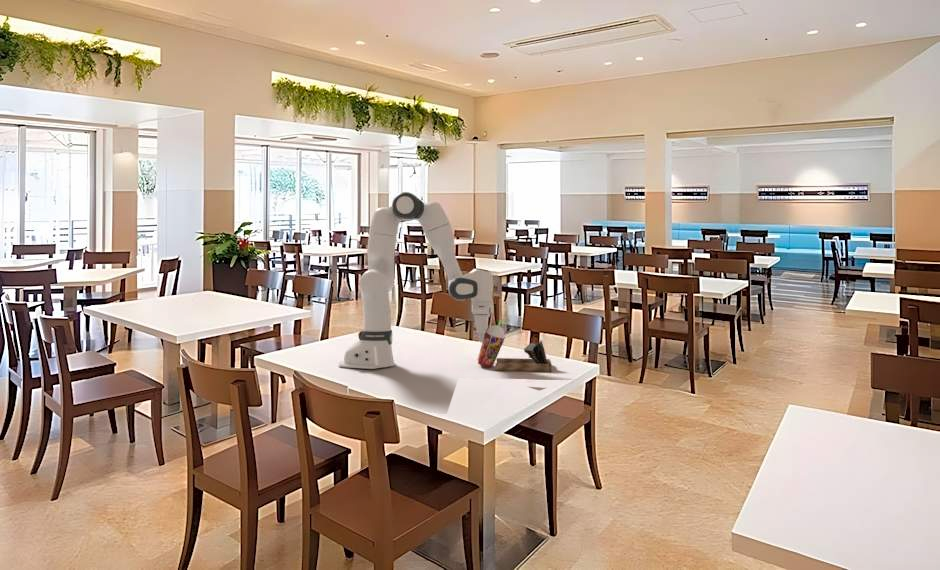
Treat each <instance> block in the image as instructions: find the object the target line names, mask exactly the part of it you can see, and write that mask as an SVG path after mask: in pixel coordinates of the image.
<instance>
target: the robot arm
mask: <svg viewBox="0 0 940 570" xmlns="http://www.w3.org/2000/svg"><path fill="white" fill-rule="evenodd" d="M391 204H392V205H391V206H388V207H386V206H382V207H381V206H380V207H378V208H376V209H375V210H374V211H373V214H372V218H371V221H370V223H369V224H370V226H369V233H368V239H367V247H366V248H367V249H366V255H367V270H366V271H364V273H363V274H362V275H361V276H360V278H359V281H358V282H359V283H358V285H359V289H360V295H361V296H360V297H361V302H362V303H361V304H362V310H363V311H362V312H363V317H362V318H363V329H362V330H360V331H359V332H358V334H357V337H358V340H356V341H355V342H354V343H353V344H351V345H350V346H349V347H348V348H347V349H346V350H345V352H344V357H343V360H342V361H340V362H338V367H339V368H350V369H351V368H352V369H353V368H354V369H370V370H372V369H373V370H375V369H380V368H388V367H393V366H395V365H396V363H395V359H394V354H393V345H392V344H393V330H392V309H391V304H390V296H389V293H391V291H392V290H393V289H394V286H395V253H396V245H397V235H398V228H399V225H400V223H406V222H410V221H414V220H415V221H417V222H418V223H419V224H420V226H421V227H422V230H423V233H424V235H425V238H426V240H427V242H428V244H429V246H430V247H431V248H432V250H433V251H434V252H435V254H436V255H437V256H438V258H439V260H440V261H441V264H442V266H443V270H444V271H445V274H446V277H447V292H448V295H449V296H450V298H452V299H453V300H456V301H460V302H461V301H465V300H466V301H467V300H469V299H471V300H470V301H471V313H472V314H473V315H474V322H475V331H476V334H479V343H481V344H482V343H483V340H484V337H485V333H486V330H487V329H488V328H489V318H490V317H491V314H493V313H494V299H493V292H494V279H493V274H492V273H491V271H490V270H488V269H485V268H473V269H472V270H471V271H469V272H467V273H465V274H463V273H462V270H461V267H460V264H459V262H458V260H457V257H456V254H455V237H454V232H453V228H452V225H451V223H450V221H449V218H448V216H447V213H446V212H445V210H444V209H443V207H442V206H441V204H440V203H438V202H437V201H428V202H424V201H422V200H421V199H420V198H418V196H416V195H415V194H414V193H411V192H408V191H404V192H399V193H398V194H397V195H395V196H394V198H393V200H392V202H391Z"/></svg>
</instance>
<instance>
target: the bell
mask: <svg viewBox="0 0 940 570" xmlns="http://www.w3.org/2000/svg"><path fill="white" fill-rule="evenodd" d="M523 351H524V353H526V355H528V359H533V361H535V363H536V364H548V361H547V359H548V358H547V355H546V351H545V346H544V344H543V340H542V339H541V340H540V341H538V342H536V343H529V344H527V346H526V347H524V349H523Z"/></svg>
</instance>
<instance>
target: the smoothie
mask: <svg viewBox="0 0 940 570" xmlns="http://www.w3.org/2000/svg"><path fill="white" fill-rule="evenodd" d="M501 322H502V319H499V321H498V324H495V325H491V326H490V327H489V326H488V328H487V330H486V333H485V337H484V340H483V343H481V346H480V350H479V354H478V356H477V364H478V365H479V366H481V367H484V368H488V369H490V368H492V367H493V366H494V364H495V363H496V361H497V358H498V355H499V354H500V351H501V348H502V346H503V344H504V341H505V339H506V334H505V331H504V329H503V327H501Z"/></svg>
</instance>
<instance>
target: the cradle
mask: <svg viewBox="0 0 940 570" xmlns="http://www.w3.org/2000/svg"><path fill="white" fill-rule="evenodd" d="M546 359H547V361H548V364H536V363H535V361H533V359H532V358H520V357H518V358H513V357H512V358H511V357H510V358H509V357H507V358H505V357H497V358H496V362H495V371H496V372H525V373H526V372H528V373H529V372H531V373H537V372H538V373H552V368H553V367H552V362H551V359H550V358H546Z"/></svg>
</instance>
